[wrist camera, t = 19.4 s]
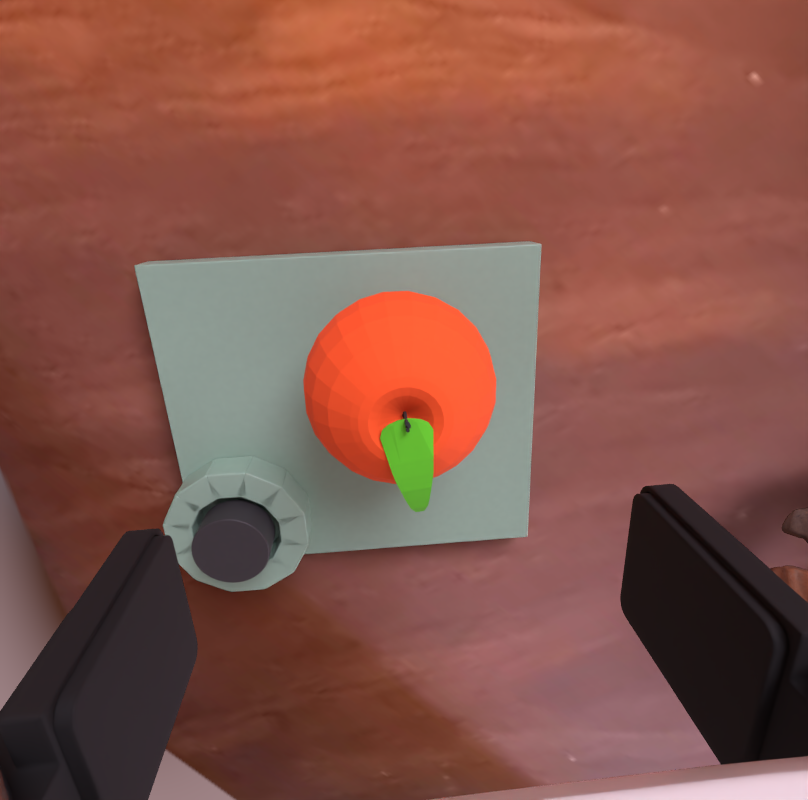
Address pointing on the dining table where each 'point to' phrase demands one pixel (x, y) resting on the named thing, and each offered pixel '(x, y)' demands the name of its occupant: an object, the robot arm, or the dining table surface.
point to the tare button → (233, 541)
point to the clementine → (400, 390)
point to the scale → (285, 401)
